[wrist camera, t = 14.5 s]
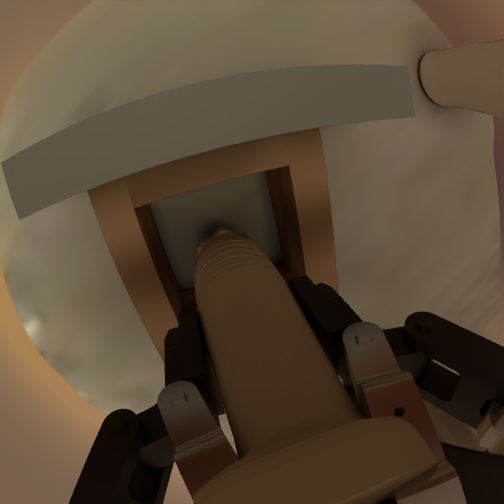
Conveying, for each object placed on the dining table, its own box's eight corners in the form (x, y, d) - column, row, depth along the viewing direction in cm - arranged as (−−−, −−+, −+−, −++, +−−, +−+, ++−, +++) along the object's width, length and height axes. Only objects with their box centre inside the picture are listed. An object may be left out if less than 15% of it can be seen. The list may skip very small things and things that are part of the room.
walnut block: (309, 275, 24) (338, 308, 19) (164, 319, 22) (165, 364, 18) (285, 121, 18) (317, 121, 14) (107, 169, 17) (85, 183, 12)
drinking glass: (461, 111, 21) (591, 139, 8) (419, 117, 20) (577, 148, 7) (448, 46, 18) (580, 49, 5) (402, 42, 17) (560, 30, 4)
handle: (219, 309, 19) (297, 550, 5) (156, 232, 16) (145, 549, 3) (283, 268, 19) (435, 481, 5) (229, 182, 16) (446, 431, 2)
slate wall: (326, 115, 19) (415, 117, 11) (83, 179, 17) (19, 220, 9) (320, 83, 18) (407, 66, 10) (73, 145, 16) (1, 162, 8)
